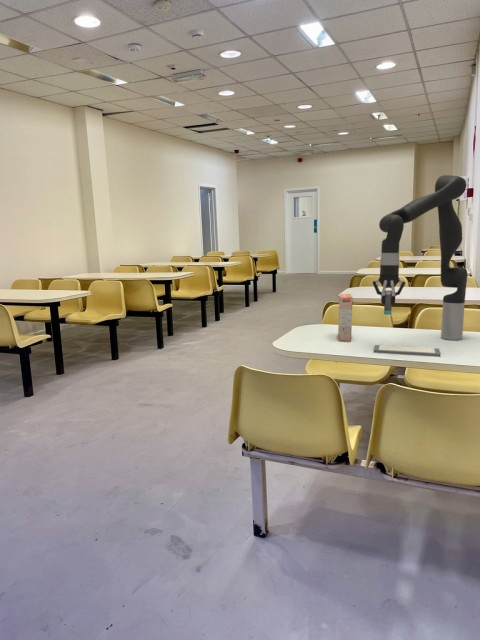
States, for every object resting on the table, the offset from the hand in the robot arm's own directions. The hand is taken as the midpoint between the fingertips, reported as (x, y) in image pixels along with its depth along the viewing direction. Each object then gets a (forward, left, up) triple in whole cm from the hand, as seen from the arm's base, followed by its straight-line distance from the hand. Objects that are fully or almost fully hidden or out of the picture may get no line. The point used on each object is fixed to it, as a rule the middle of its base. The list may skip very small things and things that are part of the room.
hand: (387, 304), depth 198 cm
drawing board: (+2, +8, -20) cm, 21 cm away
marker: (0, 0, -4) cm, 4 cm away
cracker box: (-18, -20, -20) cm, 33 cm away
